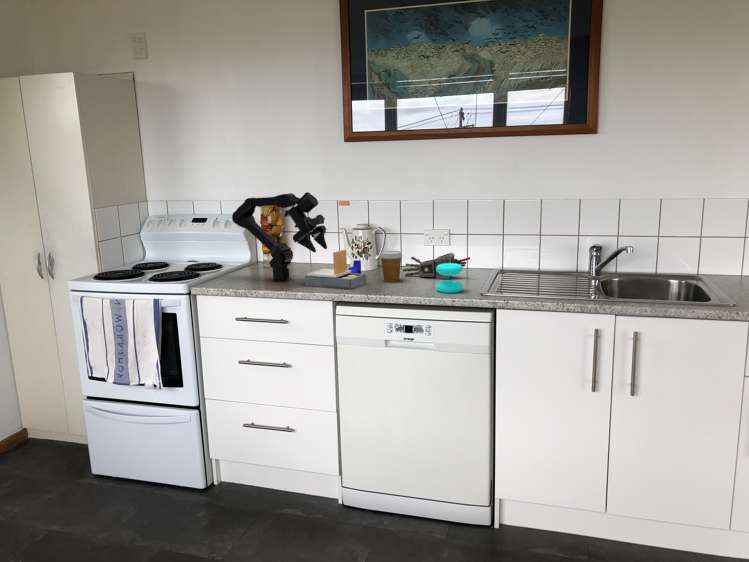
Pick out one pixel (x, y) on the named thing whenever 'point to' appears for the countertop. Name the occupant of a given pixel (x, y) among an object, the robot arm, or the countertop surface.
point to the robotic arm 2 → (433, 266)
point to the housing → (337, 281)
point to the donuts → (449, 285)
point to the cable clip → (356, 267)
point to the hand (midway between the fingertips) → (320, 250)
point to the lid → (339, 266)
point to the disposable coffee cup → (391, 265)
